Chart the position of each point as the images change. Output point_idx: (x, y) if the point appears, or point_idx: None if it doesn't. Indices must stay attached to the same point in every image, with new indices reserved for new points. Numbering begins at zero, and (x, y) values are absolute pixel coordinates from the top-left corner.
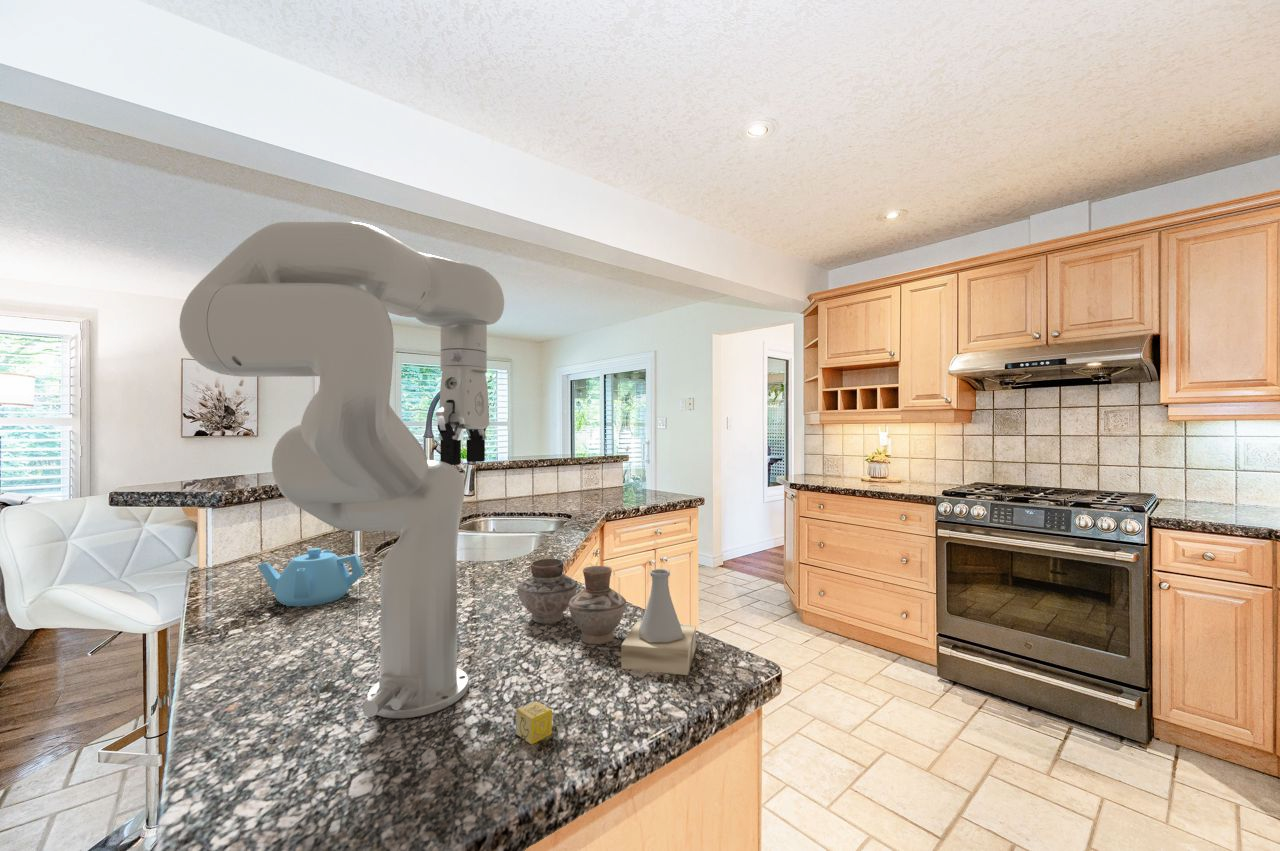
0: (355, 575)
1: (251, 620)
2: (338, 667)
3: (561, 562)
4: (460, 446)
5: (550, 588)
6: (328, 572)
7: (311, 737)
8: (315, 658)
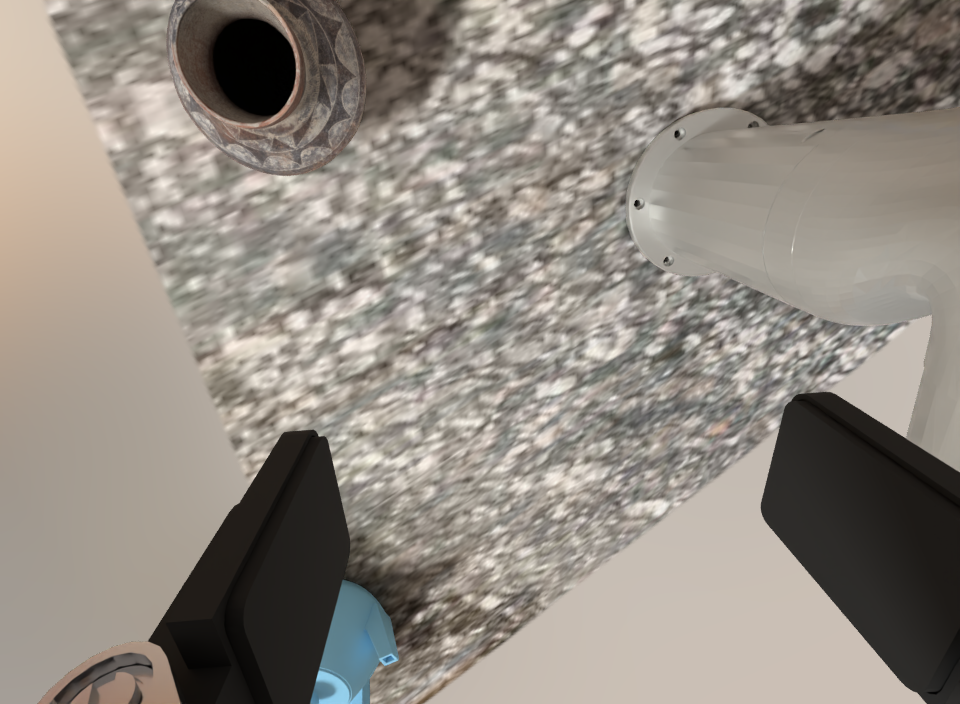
0: None
1: (448, 616)
2: (604, 384)
3: (197, 2)
4: (956, 487)
5: (335, 28)
6: (331, 633)
7: None
8: (574, 437)
